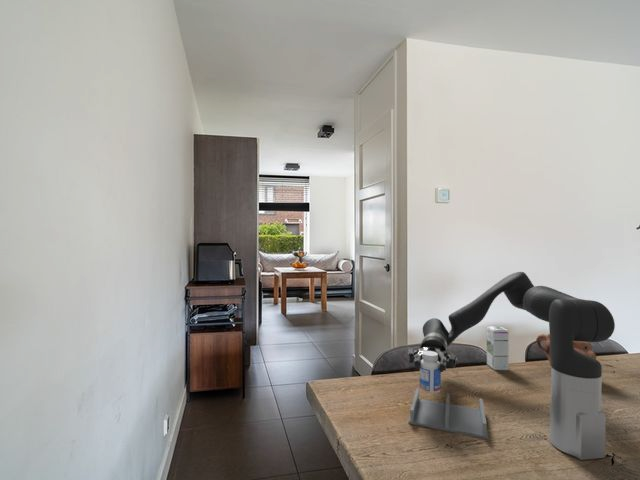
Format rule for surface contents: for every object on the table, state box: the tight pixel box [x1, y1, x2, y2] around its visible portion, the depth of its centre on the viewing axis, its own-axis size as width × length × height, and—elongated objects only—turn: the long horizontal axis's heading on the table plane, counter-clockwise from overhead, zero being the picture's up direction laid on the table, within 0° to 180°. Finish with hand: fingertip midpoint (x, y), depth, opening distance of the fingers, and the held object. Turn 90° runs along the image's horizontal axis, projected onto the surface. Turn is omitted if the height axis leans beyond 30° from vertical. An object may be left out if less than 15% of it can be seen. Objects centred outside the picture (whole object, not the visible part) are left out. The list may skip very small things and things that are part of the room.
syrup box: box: [486, 325, 510, 371], centre depth 129 cm, size 6×6×14 cm
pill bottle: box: [419, 351, 442, 394], centre depth 94 cm, size 6×5×10 cm
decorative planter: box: [535, 332, 597, 366], centre depth 124 cm, size 20×12×14 cm, turn 28°
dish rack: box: [408, 388, 489, 440], centre depth 92 cm, size 14×18×4 cm
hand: (429, 366), depth 92 cm, fingers closed on pill bottle, 5 cm apart
